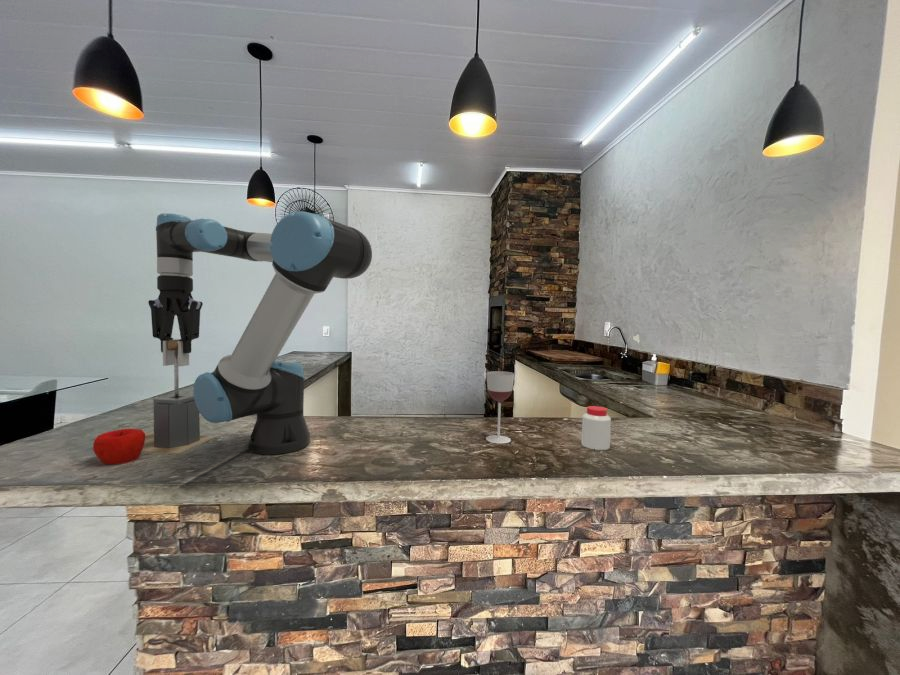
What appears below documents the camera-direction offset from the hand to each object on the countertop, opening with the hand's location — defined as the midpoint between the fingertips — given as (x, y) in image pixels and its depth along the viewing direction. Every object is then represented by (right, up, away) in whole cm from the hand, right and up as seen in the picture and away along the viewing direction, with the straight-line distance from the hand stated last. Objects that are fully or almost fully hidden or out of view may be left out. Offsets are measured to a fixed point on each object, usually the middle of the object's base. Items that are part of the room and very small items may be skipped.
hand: (176, 365), depth 98 cm
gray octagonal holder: (0, -20, +2) cm, 21 cm away
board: (-5, -22, 0) cm, 22 cm away
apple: (-4, -22, -12) cm, 26 cm away
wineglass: (+87, -24, +14) cm, 91 cm away
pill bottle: (+115, -24, +10) cm, 118 cm away
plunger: (0, -13, +1) cm, 13 cm away
